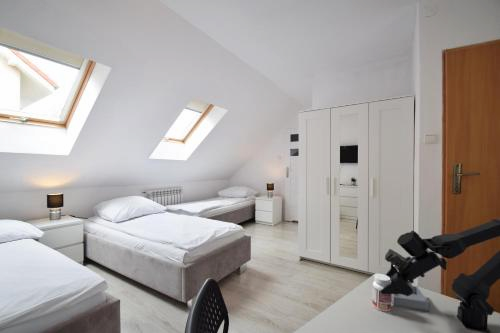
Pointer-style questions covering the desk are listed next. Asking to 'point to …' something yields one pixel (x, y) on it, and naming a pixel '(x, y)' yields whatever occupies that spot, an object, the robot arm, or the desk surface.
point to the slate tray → (411, 300)
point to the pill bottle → (379, 299)
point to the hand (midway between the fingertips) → (381, 286)
